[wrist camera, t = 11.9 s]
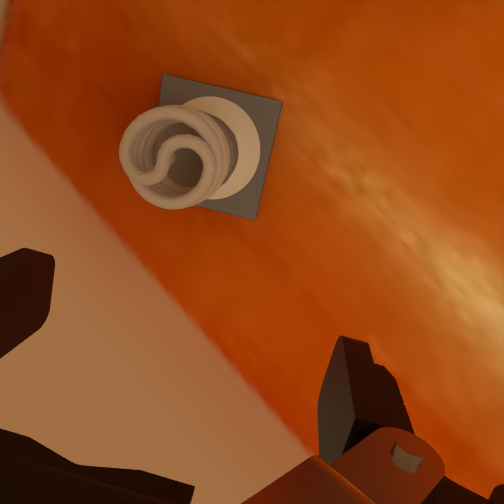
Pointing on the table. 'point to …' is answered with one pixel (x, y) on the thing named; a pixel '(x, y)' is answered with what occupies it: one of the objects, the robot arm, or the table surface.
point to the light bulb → (178, 155)
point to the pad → (246, 132)
